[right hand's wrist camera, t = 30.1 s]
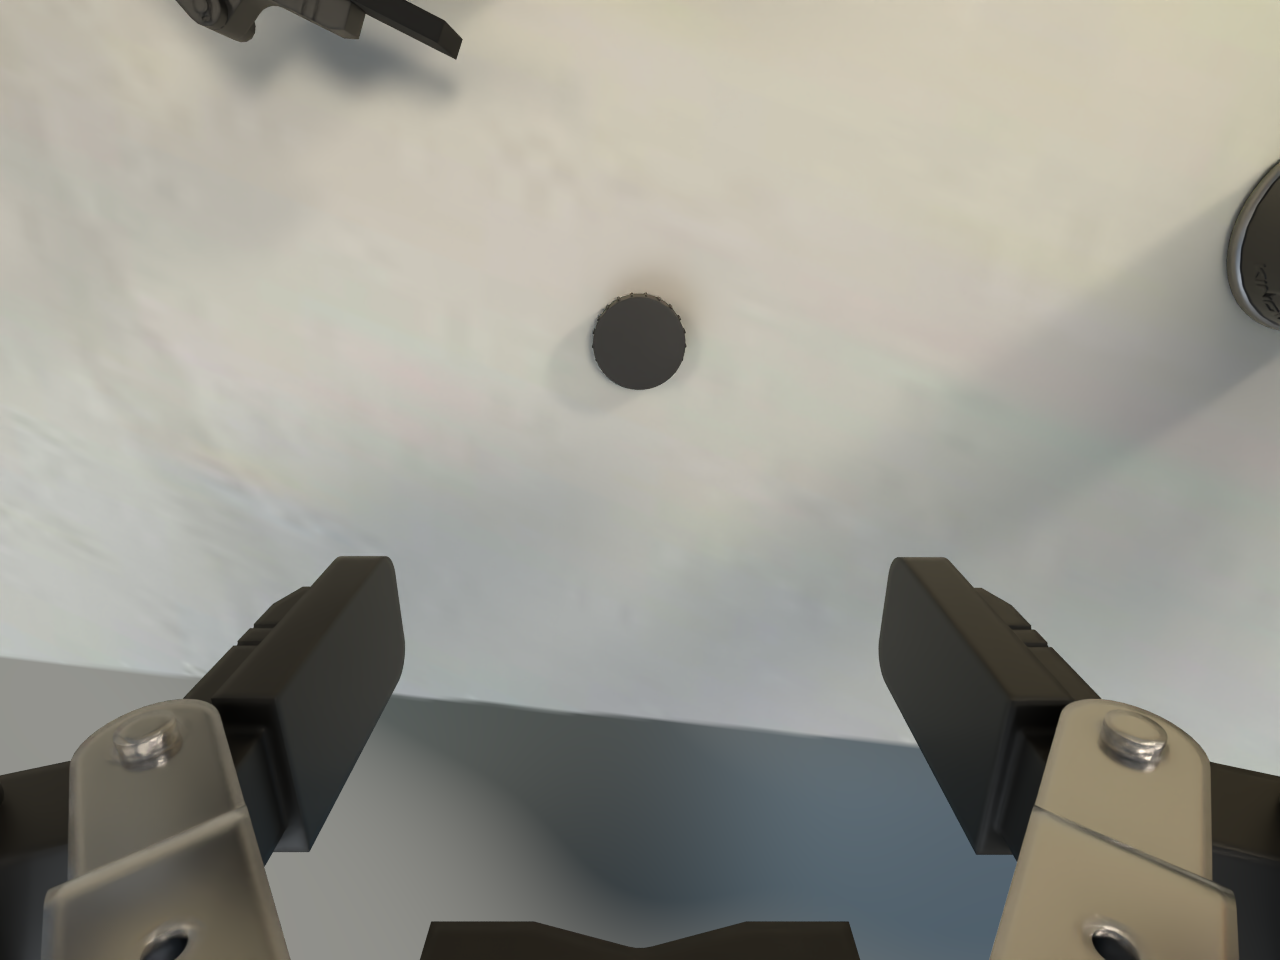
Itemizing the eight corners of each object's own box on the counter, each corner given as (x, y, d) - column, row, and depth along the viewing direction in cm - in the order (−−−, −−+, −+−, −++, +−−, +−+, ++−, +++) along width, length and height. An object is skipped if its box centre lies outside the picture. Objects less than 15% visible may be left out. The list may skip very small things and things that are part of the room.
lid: (668, 394, 37) (670, 402, 35) (583, 369, 36) (580, 376, 35) (696, 308, 35) (699, 312, 34) (607, 280, 35) (606, 283, 33)
